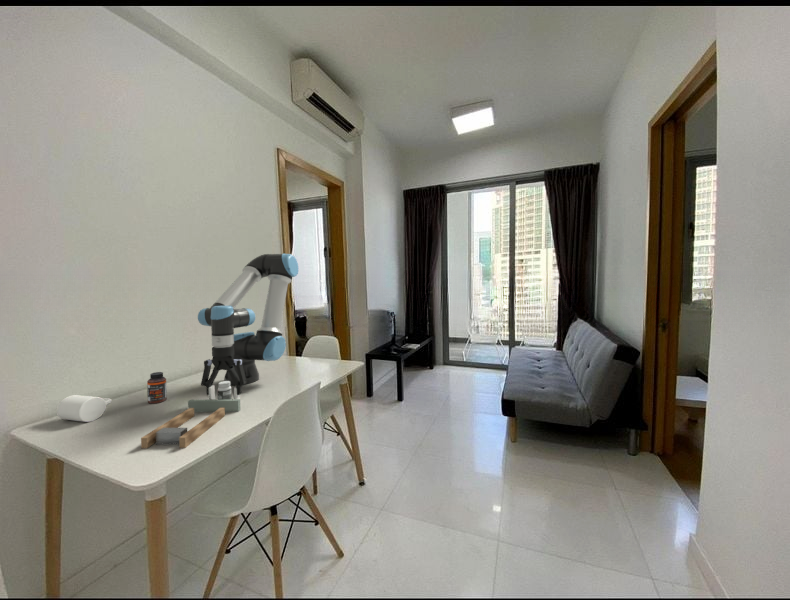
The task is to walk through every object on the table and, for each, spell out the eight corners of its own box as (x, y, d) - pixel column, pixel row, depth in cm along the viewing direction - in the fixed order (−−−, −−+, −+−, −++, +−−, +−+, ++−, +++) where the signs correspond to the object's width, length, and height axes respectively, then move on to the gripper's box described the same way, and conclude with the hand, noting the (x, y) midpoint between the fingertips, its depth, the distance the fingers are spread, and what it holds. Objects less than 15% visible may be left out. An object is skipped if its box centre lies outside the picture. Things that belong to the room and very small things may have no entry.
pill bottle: (216, 403, 118) (215, 382, 118) (229, 400, 121) (228, 379, 121) (220, 407, 115) (219, 385, 114) (233, 403, 118) (233, 382, 118)
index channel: (189, 416, 106) (189, 407, 106) (224, 415, 107) (224, 407, 107) (141, 448, 85) (141, 438, 85) (185, 447, 86) (185, 437, 86)
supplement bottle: (148, 405, 116) (147, 376, 116) (147, 400, 121) (146, 372, 120) (167, 401, 120) (166, 373, 119) (166, 397, 124) (165, 370, 124)
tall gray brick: (163, 439, 90) (163, 427, 90) (187, 439, 91) (187, 427, 91) (156, 444, 87) (155, 432, 87) (180, 444, 88) (180, 432, 88)
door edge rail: (191, 410, 112) (190, 399, 111) (240, 409, 112) (240, 399, 112) (188, 411, 110) (188, 401, 110) (238, 411, 111) (238, 400, 110)
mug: (79, 426, 99) (78, 402, 99) (56, 423, 101) (55, 399, 101) (119, 411, 111) (118, 389, 110) (98, 409, 113) (97, 388, 112)
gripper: (188, 347, 113) (190, 407, 114) (247, 347, 113) (248, 406, 115) (200, 343, 120) (202, 399, 121) (255, 343, 121) (256, 399, 122)
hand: (224, 402), depth 118 cm, fingers open, 9 cm apart
